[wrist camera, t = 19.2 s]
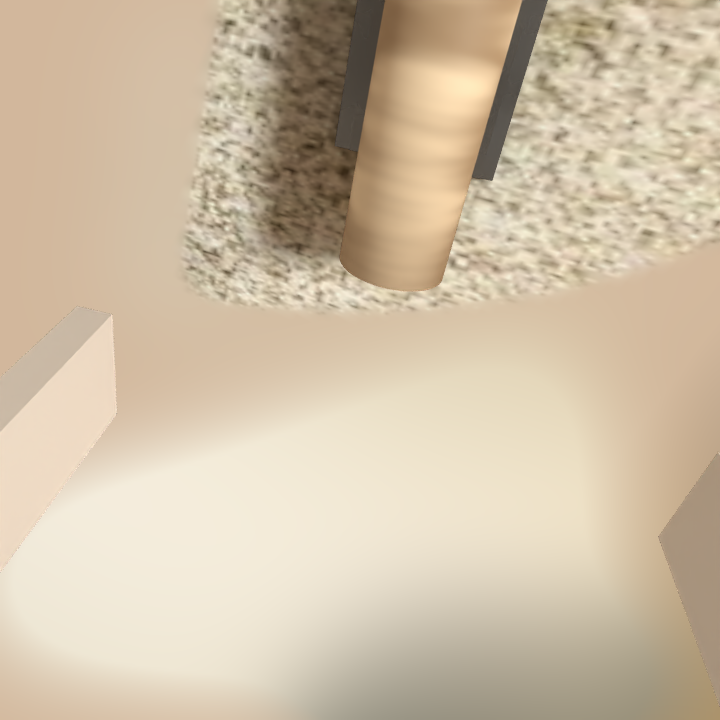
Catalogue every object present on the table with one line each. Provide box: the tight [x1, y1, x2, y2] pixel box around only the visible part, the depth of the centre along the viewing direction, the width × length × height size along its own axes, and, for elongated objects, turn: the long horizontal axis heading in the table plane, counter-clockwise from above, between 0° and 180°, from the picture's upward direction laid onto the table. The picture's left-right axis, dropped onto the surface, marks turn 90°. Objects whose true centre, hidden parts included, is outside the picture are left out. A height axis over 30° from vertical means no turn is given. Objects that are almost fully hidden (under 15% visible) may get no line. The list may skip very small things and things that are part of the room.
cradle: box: [335, 0, 548, 181], centre depth 27 cm, size 11×8×3 cm
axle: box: [339, 0, 522, 291], centre depth 24 cm, size 18×5×5 cm, turn 169°
